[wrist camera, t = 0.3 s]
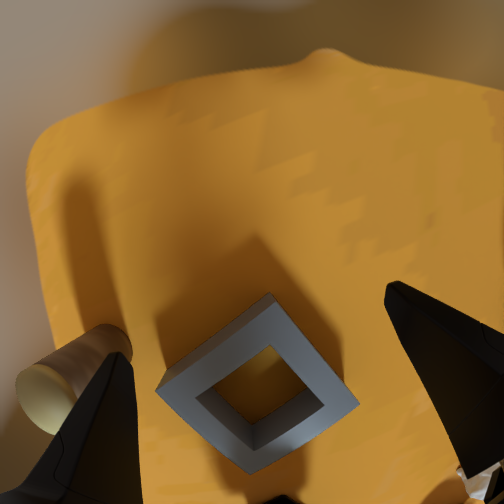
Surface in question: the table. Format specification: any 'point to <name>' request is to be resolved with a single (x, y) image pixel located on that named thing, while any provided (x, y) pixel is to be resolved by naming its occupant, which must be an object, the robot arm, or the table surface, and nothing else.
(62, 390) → the walnut pin
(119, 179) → the table surface
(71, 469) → the robot arm
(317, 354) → the socket block
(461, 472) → the light grey piece
